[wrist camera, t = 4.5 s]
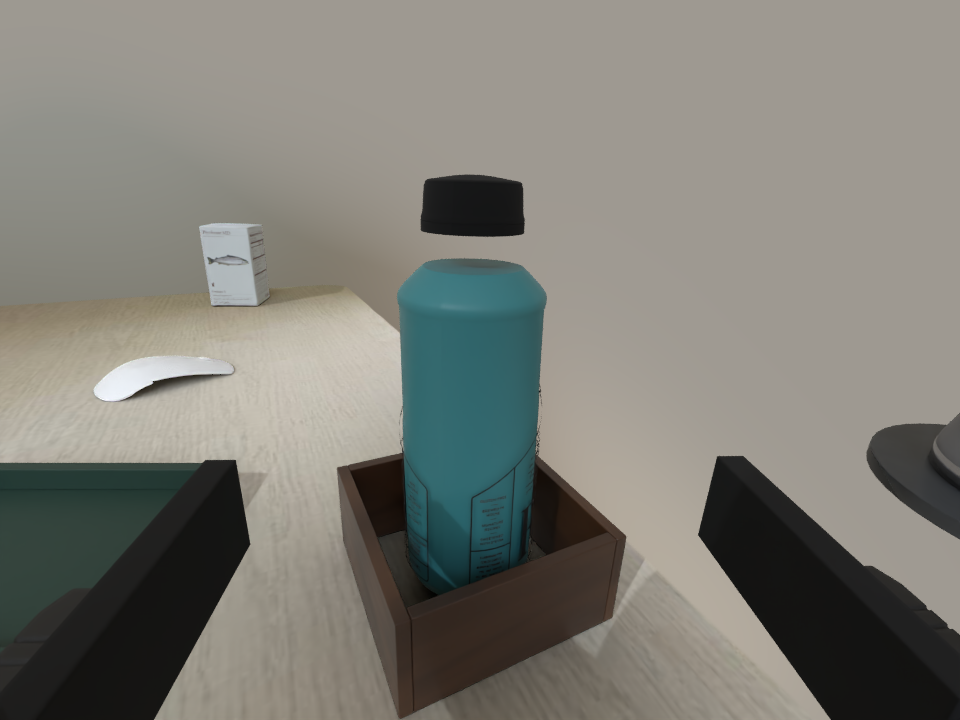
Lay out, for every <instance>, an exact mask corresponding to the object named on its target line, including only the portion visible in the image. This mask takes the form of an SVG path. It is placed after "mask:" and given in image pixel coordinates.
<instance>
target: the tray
mask: <svg viewBox="0 0 960 720" xmlns="http://www.w3.org/2000/svg"><path fill="white" fill-rule="evenodd" d="M201 464H202V463H0V653H1V652H2V651H3V650H4V649H5V648H6V647H7V645H8V644H12V643H13V642H14V640H15V639H14V638H15V637H16V636H17V635H18V634H19V633H20V632H21V631H22V630H23V629H24V628H25V627H26V626H27V625H28V624H29V622H30V621H31V620H32V619H33V618H34V617H35V616H36V615H37V614H38V613H39V612H40V611H41V610H43V609H44V608H46V607H47V606H49V605H50V604H51V603H53V602H54V601H56V600H57V599H59V598H60V597H61V596H63V595H64V594H66V593H67V592H69V591H70V590H72V589H77V588H93V587H94V586H95V585H96V583H97V582H98V581H99V580H100V579H101V578H102V577H103V575H104V574H105V573H106V572H107V571H108V570H109V569H110V568H111V566H112V565H113V564H114V563H115V562H116V561H117V560H118V558H119V557H120V556H121V555H122V554H123V553H124V552H125V551H126V549H127V548H128V547H129V546H130V545H131V544H132V543H133V541H134V540H135V539H136V538H137V537H138V536H139V535H140V534H141V532H142V531H143V530H144V529H145V528H146V527H147V526H148V524H149V523H150V522H151V521H152V520H153V519H154V518H155V517H156V515H157V514H158V513H159V512H160V511H161V510H162V509H163V507H164V506H165V505H166V504H167V503H168V502H169V501H170V500H171V498H172V497H173V496H174V495H175V494H176V493H177V492H178V490H179V489H180V488H181V487H182V486H183V485H184V484H185V483H186V481H187V480H188V479H189V478H190V477H191V476H192V475H193V474H194V472H195V471H196V470H197V469H198V468H199V467H200V466H201Z"/></svg>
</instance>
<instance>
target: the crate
mask: <svg viewBox="0 0 960 720" xmlns="http://www.w3.org/2000/svg"><path fill="white" fill-rule="evenodd" d="M535 457H536V458H537V460H535V464H534V466H535V468H534V472H535V474H534V477H535V476H536V477H537V478H536V477H535V479H534V478H533V484H534V482H535V480H536V481H537V482H535V484H534V486H533V492H532V500H533V498H534V506H533V503H532V505H531V513H532V526H531V531H530V533H531V534H530V533H529V534H530V535H531V536H532V530H533V536H532V538H533V539H534V540H535V541H536V542H537V544H538V545H539V546H540V547H541V548H542V550H543V551H544V552H545V553H546V554H547V555H546V556H543V557H540V558H538V559H535V560H532V561H530V562H527V563H524V564H522V565H519V566H516V567H514V568H511V569H508V570H506V571H503V572H500V573H498V574H495V575H492V576H490V577H487V578H484V579H482V580H479V581H476V582H473V583H471V584H468V585H465V586H463V587H460V588H457V589H455V590H452V591H449V592H447V593H444V594H441V595H439V596H436V597H433V598H431V599H428V600H425V601H423V602H420V603H417V604H415V605H412V606H409V607H407V609H406V607H405V604H404V602H403V599H402V597H401V594H400V592H399V589H398V587H397V585H396V582H395V580H394V577H393V575H392V572H391V570H390V567H389V565H388V563H387V560H386V558H385V555H384V553H383V550H382V548H381V545H380V543H379V541H378V538H377V537H380V536H384V535H387V534H390V533H394V532H397V531H400V530H404V527H405V529H407V528H406V526H407V523H406V526H405V507H403V503H404V486H403V483H402V481H403V476H404V475H405V469H404V460H403V463H402V453H400V454H395V455H391V456H386V457H382V458H377V459H373V460H369V461H364V462H360V463H355V464H351V465H348V466H342V467H338V468H337V475H338V486H339V497H340V508H341V519H342V531H343V541H344V544H345V547H346V550H347V554H348V557H349V560H350V563H351V566H352V570H353V573H354V576H355V579H356V582H357V586H358V589H359V592H360V595H361V598H362V602H363V605H364V608H365V611H366V614H367V618H368V621H369V624H370V627H371V630H372V634H373V637H374V640H375V643H376V646H377V650H378V653H379V656H380V659H381V662H382V666H383V669H384V672H385V675H386V678H387V682H388V685H389V688H390V691H391V694H392V698H393V701H394V704H395V707H396V710H397V714H398V717H399V718H400V719H401V718H403V717H405V716H408V715H410V714H412V713H413V711H414V712H416V711H418V710H420V709H422V708H424V707H426V706H428V705H430V704H433V703H435V702H437V701H439V700H441V699H443V698H445V697H447V696H449V695H451V694H453V693H456V692H458V691H460V690H462V689H464V688H466V687H468V686H470V685H472V684H474V683H477V682H479V681H481V680H483V679H485V678H487V677H489V676H491V675H493V674H495V673H497V672H500V671H502V670H504V669H506V668H508V667H510V666H512V665H514V664H516V663H518V662H520V661H523V660H525V659H527V658H529V657H531V656H533V655H535V654H537V653H539V652H541V651H543V650H546V649H548V648H550V647H552V646H554V645H556V644H558V643H560V642H562V641H564V640H566V639H569V638H571V637H573V636H575V635H577V634H579V633H581V632H583V631H585V630H587V629H589V628H592V627H594V626H596V625H598V624H600V623H602V622H603V621H606V620H608V619H610V618H612V616H613V610H614V604H615V599H616V593H617V587H618V582H619V576H620V570H621V565H622V559H623V553H624V548H625V542H626V536H625V535H624V534H623V533H622V532H621V531H620V530H619V529H618V528H617V527H616V526H615V525H613V524H612V523H611V522H610V521H609V520H608V519H607V518H606V517H605V516H603V515H602V514H601V513H600V512H599V511H598V510H597V509H596V508H595V507H594V506H592V505H591V504H590V503H589V502H588V501H587V500H586V499H585V498H583V497H582V496H581V495H580V494H579V493H578V492H577V491H576V490H575V489H574V488H572V487H571V486H570V485H569V484H568V483H567V482H566V481H565V480H564V479H562V478H561V477H560V476H559V475H558V474H557V473H556V472H555V471H554V470H553V469H551V468H550V467H549V466H548V465H547V464H546V463H545V462H544V461H543V460H541V459H540V458H539V457H537V455H536V454H535ZM403 459H404V453H403ZM537 461H538V462H537ZM536 463H537V464H536ZM401 465H402V467H401ZM537 465H538V466H537ZM536 466H537V468H536ZM537 469H538V470H537ZM535 470H536V471H535ZM536 473H537V475H536ZM535 492H536V497H535ZM402 496H403V498H402ZM534 507H535V510H534ZM403 511H404V512H403ZM533 520H534V523H533ZM530 521H531V519H530Z"/></svg>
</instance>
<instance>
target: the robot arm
mask: <svg viewBox="0 0 960 720" xmlns="http://www.w3.org/2000/svg"><path fill="white" fill-rule="evenodd" d="M928 457H929V461H930V464H931V465H932V467H933V468H934V469H935V471H936V472H937V473H938V474H939V475H940V476H941V477H942V478H944V479H945V480H946V481H947V482H948V483H950V484H951V485H952V486H954V487H955V488H956V489H958V490H959V491H960V413H959V414H958V415H957V416H956V417H955V418H954V419H953V420H952V421H951V422H950V423H949V424H948V425H947V426H946V427H945V428H943V429H942V430H941V432H940V433H939V435H937V437H936V438H935V440H934V443H933V445H932V447H931V450H930V452H929V456H928ZM698 536H699V537H700V538H701V540H702V541H703V542H704V544H705V545H706V547H707V548H708V550H709V551H710V552H711V554H712V555H713V556H714V558H715V559H716V561H717V562H718V563H719V565H720V566H721V568H722V569H723V570H724V572H725V573H726V575H727V576H728V577H729V579H730V580H731V581H732V583H733V584H734V586H735V587H736V588H737V590H738V591H739V593H740V594H741V595H742V597H743V598H744V600H745V601H746V602H747V604H748V605H749V606H750V608H751V609H752V611H753V612H754V613H755V615H756V616H757V618H758V619H759V620H760V622H761V623H762V625H763V626H764V627H765V629H766V630H767V632H768V633H769V634H770V636H771V637H772V638H773V640H774V641H775V643H776V644H777V645H778V647H779V648H780V650H781V651H782V652H783V654H784V655H785V656H786V658H787V659H788V661H789V662H790V663H791V665H792V666H793V668H794V669H795V670H796V672H797V673H798V675H799V676H800V677H801V679H802V680H803V682H804V683H805V684H806V686H807V687H808V688H809V690H810V691H811V693H812V694H813V695H814V697H815V698H816V700H817V701H818V702H819V704H820V705H821V707H822V708H823V709H824V711H825V712H826V713H827V715H828V716H829V718H830V719H831V720H960V635H959V634H958V633H957V632H956V631H955V630H953V629H949V628H948V627H947V623H945V622H944V621H943V620H942V619H941V618H940V617H939V616H937V615H936V614H935V613H934V612H933V611H932V610H928V609H927V608H926V605H925V604H924V603H923V602H921V601H920V600H919V599H918V598H917V597H916V596H914V595H913V594H912V593H911V592H910V591H909V590H908V589H907V588H905V587H904V586H903V585H902V584H900V583H899V582H897V581H896V580H894V579H892V578H891V577H889V576H887V575H886V574H884V573H883V572H881V571H879V570H878V569H876V568H874V567H873V566H863V565H862V564H861V563H860V562H859V561H857V559H855V558H854V557H853V556H852V555H851V554H850V553H849V552H848V551H846V549H844V548H843V547H842V546H841V545H840V544H839V543H838V542H837V541H836V540H835V539H833V538H832V537H831V536H830V535H829V534H828V533H827V532H826V531H825V530H824V529H823V528H821V527H820V526H819V525H818V524H817V523H816V522H815V521H814V520H813V519H812V518H810V517H809V516H808V515H807V514H806V513H805V512H804V511H803V510H802V509H801V508H799V507H798V506H797V505H796V504H795V503H794V502H793V501H792V500H791V499H790V498H789V497H787V496H786V495H785V494H784V493H783V492H782V491H781V490H780V489H779V488H778V487H776V486H775V485H774V484H773V483H772V482H771V481H770V480H769V479H768V478H767V477H765V476H764V475H763V474H762V473H761V472H760V471H759V470H758V469H757V468H756V467H754V466H753V465H752V464H751V463H750V462H749V461H748V460H747V459H746V458H745V457H744V456H718V457H717V459H716V464H715V468H714V472H713V476H712V480H711V484H710V488H709V492H708V496H707V501H706V505H705V509H704V513H703V517H702V521H701V525H700V530H699V533H698ZM249 546H250V540H249V534H248V528H247V522H246V517H245V511H244V505H243V499H242V494H241V488H240V482H239V476H238V471H237V465H236V460H205V461H204V462H203V463H202V464H201V466H200V467H199V468H198V469H197V470H196V471H195V472H194V474H193V475H192V476H191V477H190V478H189V479H188V480H187V481H186V483H185V484H184V485H183V486H182V487H181V488H180V489H179V490H178V492H177V493H176V494H175V495H174V496H173V497H172V498H171V500H170V501H169V502H168V503H167V504H166V505H165V506H164V507H163V509H162V510H161V511H160V512H159V513H158V514H157V515H156V517H155V518H154V519H153V520H152V521H151V522H150V523H149V524H148V526H147V527H146V528H145V529H144V530H143V531H142V532H141V534H140V535H139V536H138V537H137V538H136V539H135V540H134V541H133V543H132V544H131V545H130V546H129V547H128V548H127V549H126V551H125V552H124V553H123V554H122V555H121V556H120V557H119V558H118V560H117V561H116V562H115V563H114V564H113V565H112V566H111V568H110V569H109V570H108V571H107V572H106V573H105V574H104V575H103V577H102V578H101V579H100V580H99V581H98V582H97V583H96V585H95V586H94V587H93V588H77V589H72V590H70V591H69V592H67V593H66V594H64V595H63V596H61V597H60V598H59V599H57V600H56V601H54V602H53V603H51V604H50V605H49V606H47V607H46V608H44V609H43V610H41V611H40V612H39V613H38V614H37V615H36V616H35V617H34V618H33V619H32V620H31V621H30V622H29V624H28V625H27V626H26V627H25V628H24V629H23V630H22V631H21V632H20V633H19V634H18V635H17V636H16V637H15V638H14V639H15V640H14V642H13V643H12V644H8V645H7V647H6V648H5V649H4V650H3V651H2V652H1V653H0V720H154V719H155V717H156V715H157V713H158V711H159V709H160V708H161V706H162V704H163V702H164V700H165V699H166V697H167V695H168V693H169V691H170V689H171V688H172V686H173V684H174V682H175V680H176V679H177V677H178V675H179V673H180V671H181V669H182V668H183V666H184V664H185V662H186V660H187V659H188V657H189V655H190V653H191V651H192V649H193V648H194V646H195V644H196V642H197V640H198V639H199V637H200V635H201V633H202V631H203V629H204V628H205V626H206V624H207V622H208V620H209V618H210V617H211V615H212V613H213V611H214V609H215V608H216V606H217V604H218V602H219V600H220V598H221V597H222V595H223V593H224V591H225V589H226V588H227V586H228V584H229V582H230V580H231V578H232V577H233V575H234V573H235V571H236V569H237V568H238V566H239V564H240V562H241V560H242V558H243V557H244V555H245V553H246V551H247V549H248V548H249Z"/></svg>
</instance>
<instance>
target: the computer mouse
mask: <svg viewBox="0 0 960 720" xmlns="http://www.w3.org/2000/svg"><path fill="white" fill-rule="evenodd" d="M232 371H233V372H234V368H233V366H232V365H231V364H229V363H228V362H226V361H223V360H220V359H214V358H207V357H191V356H154V357H146V358H140V359H136V360H132V361H130V362H127V363H125V364H122V365H121V366H119V367H117V368H116V369H114V370H113V371H111V372H110V373H109V374H107V375H106V376H105V377H104V378H103V379H102V380H101V381H100V382H99V383H98V384H97V385H96V386H95V388H94V394H95V395H96V396H97V397H98V398H99V399H101V400H104V401H112V402H113V401H119V400H122V399H125V398H128V397H130V396H132V395H133V394H134V393H135V392H137V391H139V390H140V389H142V388H144V387H146V386H148V385H151V384H153V382H152V381H157V380H161V379H165V378H171V377H177V376H186V375H197V374H232V373H233V372H232Z"/></svg>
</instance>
